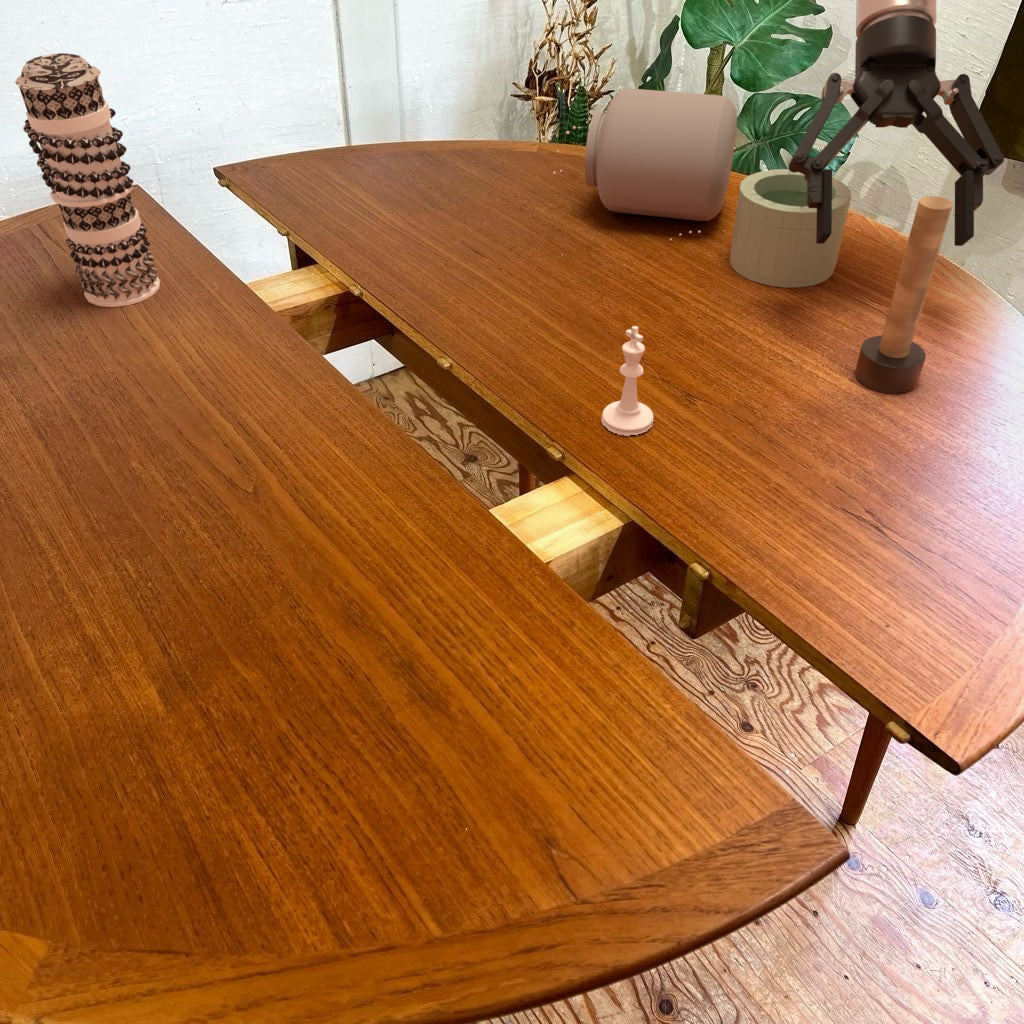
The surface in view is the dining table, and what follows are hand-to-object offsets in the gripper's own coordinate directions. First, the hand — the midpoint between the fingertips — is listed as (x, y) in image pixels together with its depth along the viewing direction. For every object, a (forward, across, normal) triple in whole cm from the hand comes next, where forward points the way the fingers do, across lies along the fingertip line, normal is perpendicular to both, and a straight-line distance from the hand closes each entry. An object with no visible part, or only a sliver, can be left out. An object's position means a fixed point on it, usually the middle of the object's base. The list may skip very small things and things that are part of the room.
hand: (893, 240), depth 95 cm
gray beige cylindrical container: (-4, +7, -19) cm, 20 cm away
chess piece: (+20, +26, +4) cm, 33 cm away
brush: (+13, 0, -2) cm, 13 cm away
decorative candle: (+3, +84, -12) cm, 85 cm away
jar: (-13, +25, -29) cm, 40 cm away
